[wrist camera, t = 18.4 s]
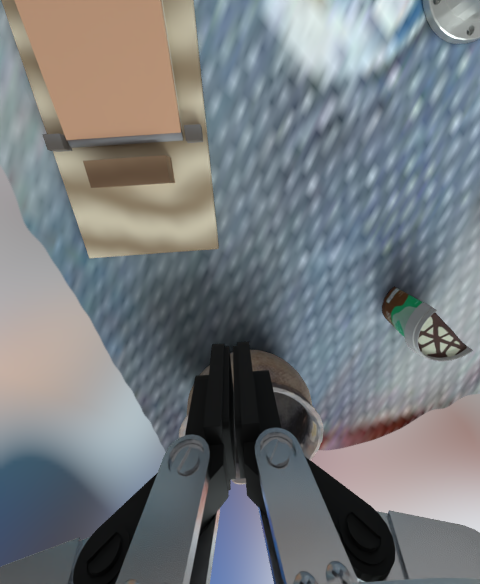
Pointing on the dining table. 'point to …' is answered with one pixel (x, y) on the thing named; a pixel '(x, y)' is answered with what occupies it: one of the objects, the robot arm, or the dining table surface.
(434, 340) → the food container
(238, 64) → the dining table surface
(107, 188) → the tile stand
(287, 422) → the ceramic bowl
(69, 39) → the tile
